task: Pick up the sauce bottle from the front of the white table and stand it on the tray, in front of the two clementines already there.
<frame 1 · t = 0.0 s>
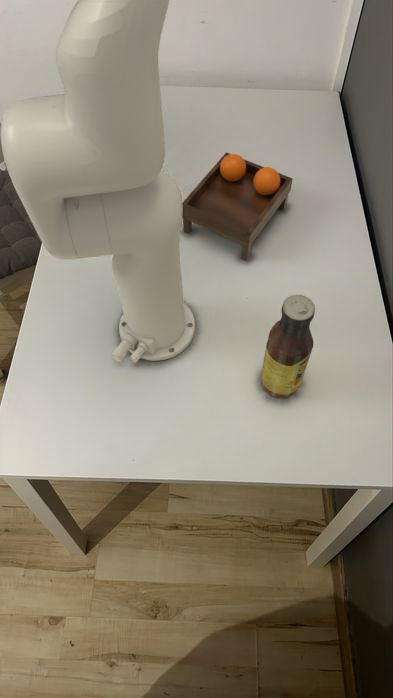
sauce bottle: (279, 381, 79), on the table
clementine a: (232, 178, 94), point 5 cm above the table, touching tray
tray: (235, 219, 95), on the table
clementine b: (265, 191, 92), point 5 cm above the table, touching tray
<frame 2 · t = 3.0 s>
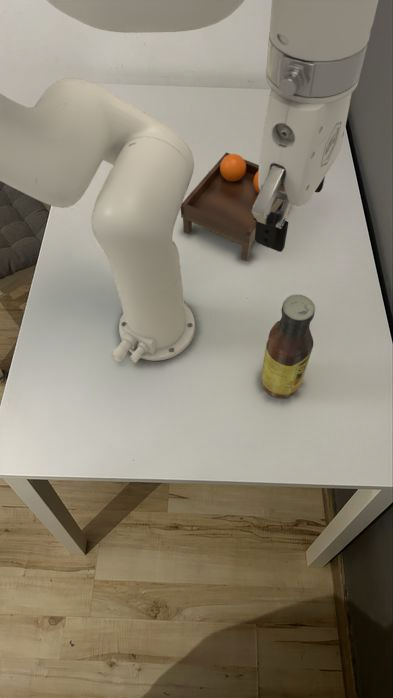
hand: (289, 215, 54), 31 cm above the table, tool pointing down, fingers open, 9 cm apart
nothing on the table moved.
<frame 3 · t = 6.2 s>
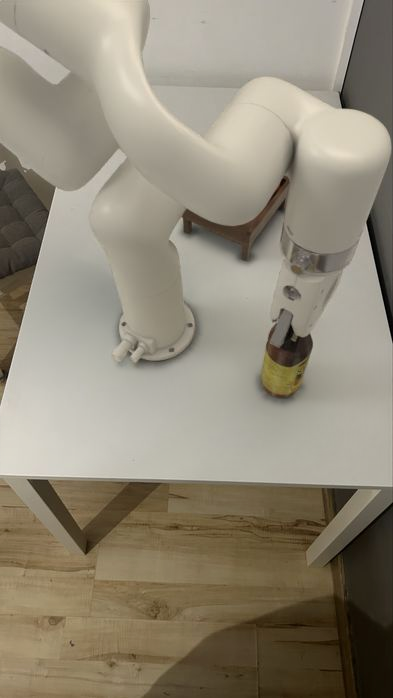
hand: (293, 332, 66), 15 cm above the table, tool pointing down, fingers closed on sauce bottle, 4 cm apart
sauce bottle: (280, 381, 79), on the table, touching gripper
everything else where it was.
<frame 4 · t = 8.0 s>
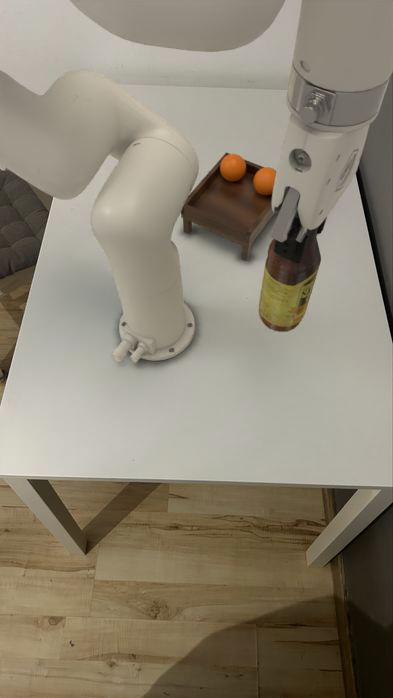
hand: (298, 240, 55), 29 cm above the table, tool pointing down, fingers closed on sauce bottle, 4 cm apart
sauce bottle: (280, 314, 68), point 14 cm above the table, touching gripper
everything else where it was.
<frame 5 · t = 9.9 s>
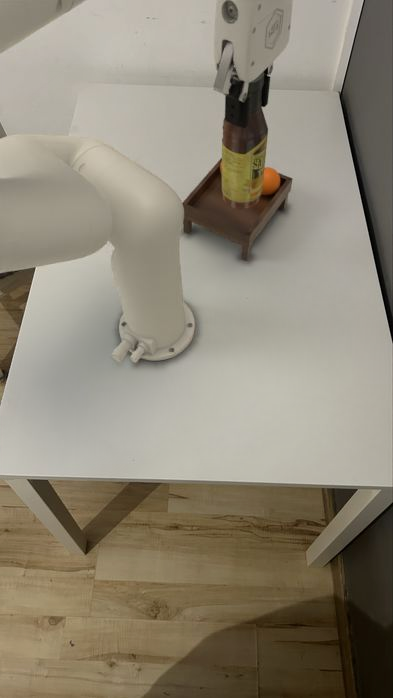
hand: (246, 111, 65), 29 cm above the table, tool pointing down, fingers closed on sauce bottle, 4 cm apart
sauce bottle: (241, 197, 78), point 14 cm above the table, touching gripper
everything else where it was.
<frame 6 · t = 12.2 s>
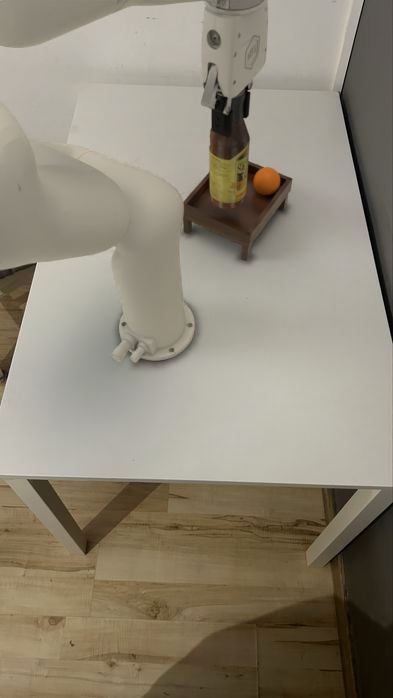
hand: (230, 122, 74), 23 cm above the table, tool pointing down, fingers closed on sauce bottle, 4 cm apart
sauce bottle: (227, 198, 87), point 8 cm above the table, touching gripper
everything else where it was.
when the fingers open (20 cm above the table, at t = 13.6 s): sauce bottle stays where it is, resting on tray.
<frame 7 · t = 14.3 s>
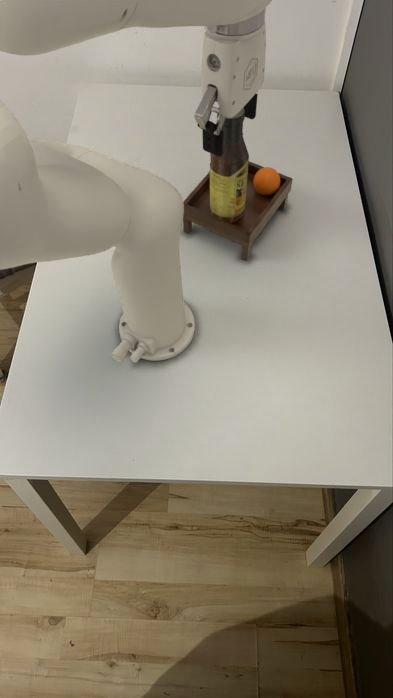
hand: (229, 133, 75), 21 cm above the table, tool pointing down, fingers open, 9 cm apart
sauce bottle: (227, 213, 90), point 5 cm above the table, touching tray
everything else where it was.
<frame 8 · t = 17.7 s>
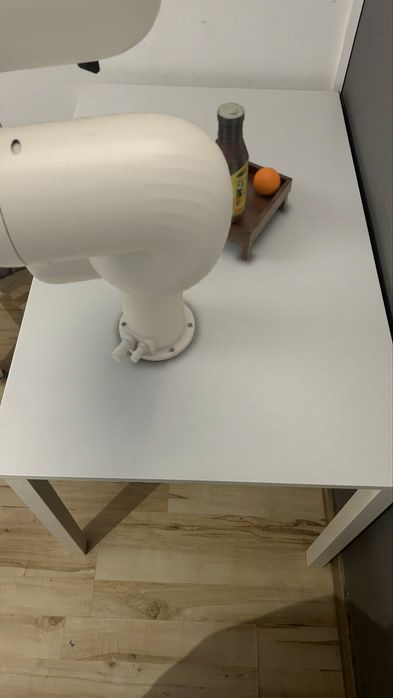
hand: (112, 50, 64), 34 cm above the table, tool pointing down, fingers open, 9 cm apart
nothing on the table moved.
at the end: sauce bottle inside the target area on the tray (3.5 cm from its centre), point 4.8 cm above the tray's base; sauce bottle tilted 0° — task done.
